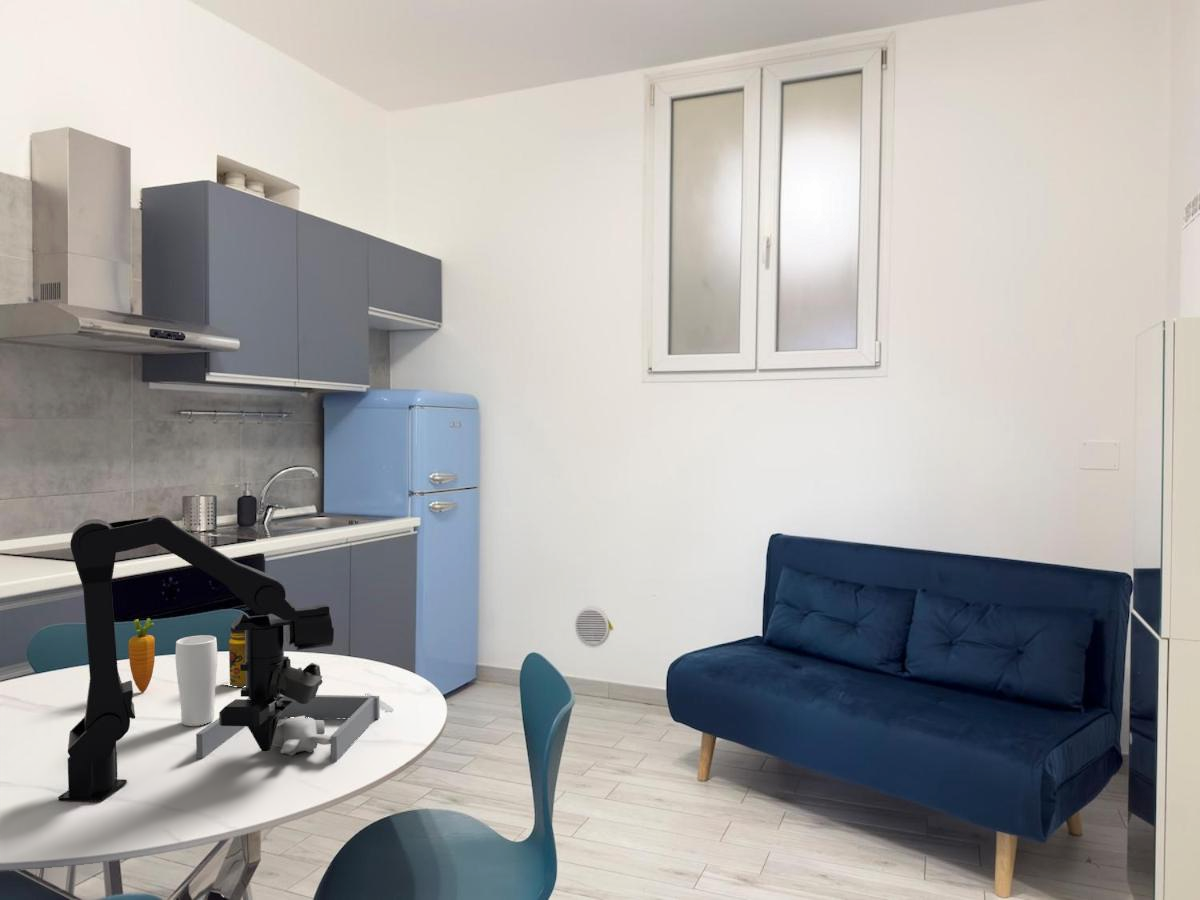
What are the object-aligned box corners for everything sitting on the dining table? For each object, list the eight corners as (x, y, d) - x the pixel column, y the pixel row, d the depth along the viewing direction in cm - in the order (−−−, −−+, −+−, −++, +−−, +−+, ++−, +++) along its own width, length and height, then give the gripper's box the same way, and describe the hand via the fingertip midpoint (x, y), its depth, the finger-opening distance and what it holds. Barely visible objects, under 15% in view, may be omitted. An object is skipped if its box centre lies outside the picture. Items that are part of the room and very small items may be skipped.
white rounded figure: (317, 707, 150) (338, 723, 138) (318, 737, 150) (339, 756, 137) (260, 717, 146) (275, 734, 133) (261, 748, 145) (277, 768, 132)
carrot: (150, 686, 175) (148, 613, 175) (161, 691, 172) (159, 617, 171) (124, 692, 171) (122, 618, 171) (135, 698, 168) (133, 622, 168)
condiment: (220, 685, 176) (218, 627, 175) (250, 674, 184) (249, 618, 183) (248, 689, 173) (247, 630, 173) (277, 677, 181) (276, 621, 181)
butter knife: (380, 713, 158) (396, 709, 160) (336, 678, 181) (350, 675, 183) (380, 716, 159) (396, 712, 160) (337, 681, 181) (351, 677, 183)
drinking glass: (202, 730, 150) (200, 645, 150) (168, 727, 152) (166, 643, 151) (226, 717, 157) (225, 635, 157) (193, 714, 158) (192, 634, 158)
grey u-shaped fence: (340, 761, 137) (339, 736, 136) (193, 758, 138) (193, 733, 138) (379, 717, 157) (379, 696, 156) (251, 715, 158) (251, 693, 158)
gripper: (290, 672, 127) (291, 776, 128) (335, 639, 146) (336, 730, 146) (216, 670, 128) (218, 774, 128) (271, 638, 146) (272, 729, 147)
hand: (266, 750), depth 137 cm, fingers closed
